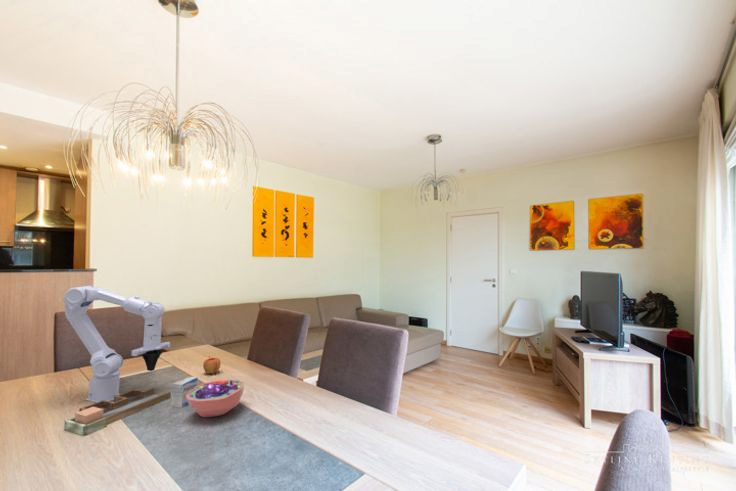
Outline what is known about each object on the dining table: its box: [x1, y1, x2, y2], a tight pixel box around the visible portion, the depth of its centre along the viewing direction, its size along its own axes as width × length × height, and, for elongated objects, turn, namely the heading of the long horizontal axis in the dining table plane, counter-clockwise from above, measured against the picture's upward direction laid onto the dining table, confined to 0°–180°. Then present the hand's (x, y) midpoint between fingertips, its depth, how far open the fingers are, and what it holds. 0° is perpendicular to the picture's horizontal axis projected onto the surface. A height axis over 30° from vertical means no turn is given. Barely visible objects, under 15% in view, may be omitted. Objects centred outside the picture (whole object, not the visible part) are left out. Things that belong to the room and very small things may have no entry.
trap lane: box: [63, 387, 172, 437], centre depth 116 cm, size 15×29×3 cm, turn 160°
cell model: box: [186, 379, 245, 418], centre depth 117 cm, size 17×20×11 cm
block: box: [74, 407, 103, 425], centre depth 105 cm, size 5×5×4 cm
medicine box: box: [171, 376, 199, 408], centre depth 123 cm, size 8×4×9 cm, turn 168°
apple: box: [202, 355, 221, 375], centre depth 156 cm, size 7×7×8 cm
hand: (150, 370), depth 130 cm, fingers closed
